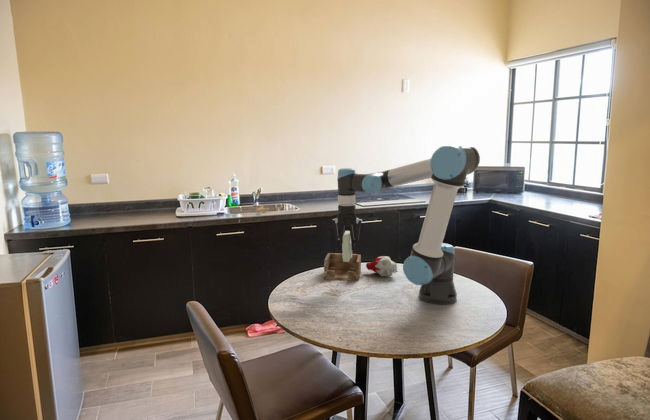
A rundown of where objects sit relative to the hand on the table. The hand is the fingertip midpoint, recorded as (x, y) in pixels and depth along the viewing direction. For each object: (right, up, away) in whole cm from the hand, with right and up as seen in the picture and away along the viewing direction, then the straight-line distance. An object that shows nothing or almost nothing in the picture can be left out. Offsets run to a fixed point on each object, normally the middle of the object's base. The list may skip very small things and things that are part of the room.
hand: (347, 257), depth 196 cm
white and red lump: (+17, -10, +18) cm, 27 cm away
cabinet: (-1, -10, +16) cm, 19 cm away
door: (0, 0, 0) cm, 0 cm away
